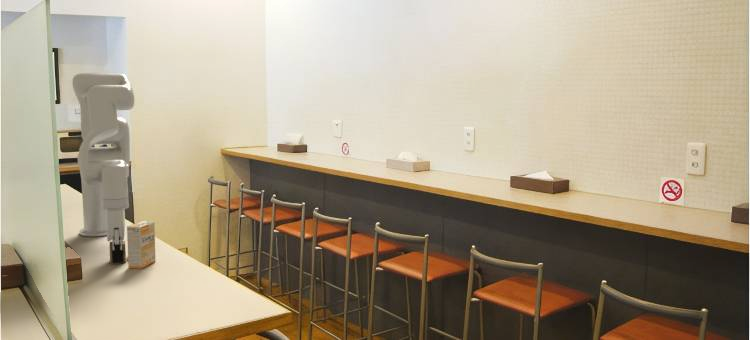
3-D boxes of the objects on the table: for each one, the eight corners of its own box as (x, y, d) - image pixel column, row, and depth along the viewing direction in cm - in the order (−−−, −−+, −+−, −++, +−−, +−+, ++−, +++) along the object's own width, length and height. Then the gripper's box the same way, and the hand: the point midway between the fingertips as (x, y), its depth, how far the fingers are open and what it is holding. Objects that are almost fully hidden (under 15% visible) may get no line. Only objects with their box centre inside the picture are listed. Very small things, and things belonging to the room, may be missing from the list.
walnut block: (110, 260, 203) (109, 241, 202) (125, 258, 204) (125, 240, 203) (110, 264, 199) (109, 245, 198) (125, 262, 200) (125, 244, 199)
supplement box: (142, 269, 194) (140, 227, 192) (127, 268, 195) (126, 226, 193) (156, 261, 202) (155, 221, 200) (142, 260, 203) (141, 220, 201)
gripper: (103, 198, 205) (105, 253, 208) (101, 209, 190) (104, 269, 192) (128, 197, 208) (130, 252, 211) (128, 208, 192) (131, 266, 195)
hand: (118, 259), depth 201 cm, fingers closed on walnut block, 4 cm apart
